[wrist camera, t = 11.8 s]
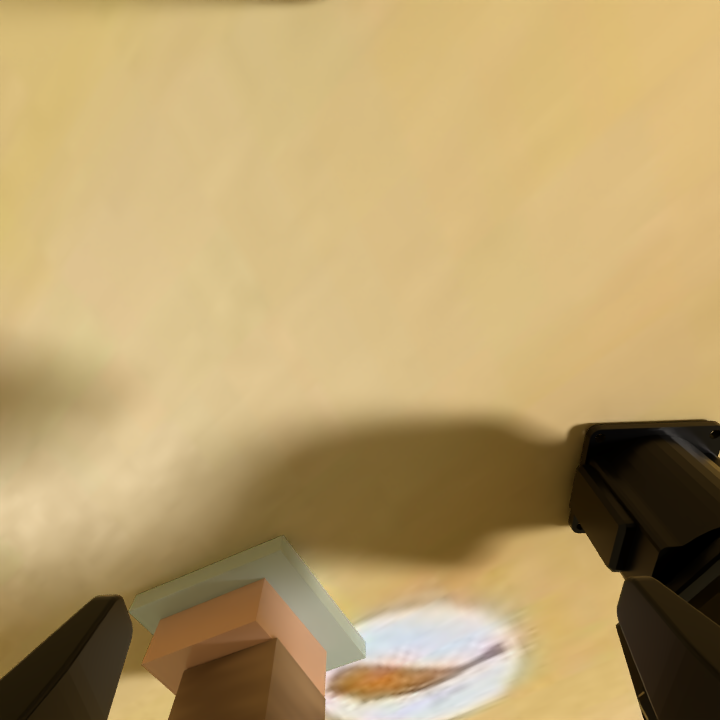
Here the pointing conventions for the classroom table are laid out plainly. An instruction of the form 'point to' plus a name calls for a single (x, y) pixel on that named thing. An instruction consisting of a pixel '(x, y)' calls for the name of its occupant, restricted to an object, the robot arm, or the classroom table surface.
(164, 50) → the classroom table surface
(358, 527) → the classroom table surface
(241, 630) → the terracotta tile
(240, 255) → the classroom table surface
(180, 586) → the grey flat square slab
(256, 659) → the walnut pillar
